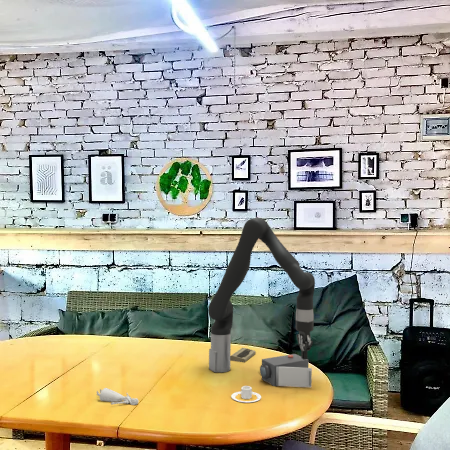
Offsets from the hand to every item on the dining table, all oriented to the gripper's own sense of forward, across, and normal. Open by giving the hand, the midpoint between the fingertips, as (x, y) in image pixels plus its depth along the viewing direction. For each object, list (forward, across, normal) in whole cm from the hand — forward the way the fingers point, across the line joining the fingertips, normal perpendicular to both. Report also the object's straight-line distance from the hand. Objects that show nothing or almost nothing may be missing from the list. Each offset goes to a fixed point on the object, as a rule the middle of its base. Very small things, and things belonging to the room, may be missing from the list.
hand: (304, 359), depth 217 cm
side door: (+11, +2, -6) cm, 12 cm away
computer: (+11, -44, -15) cm, 48 cm away
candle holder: (+12, +9, -28) cm, 32 cm away
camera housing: (+11, -7, -7) cm, 15 cm away
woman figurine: (+11, +2, -79) cm, 79 cm away
